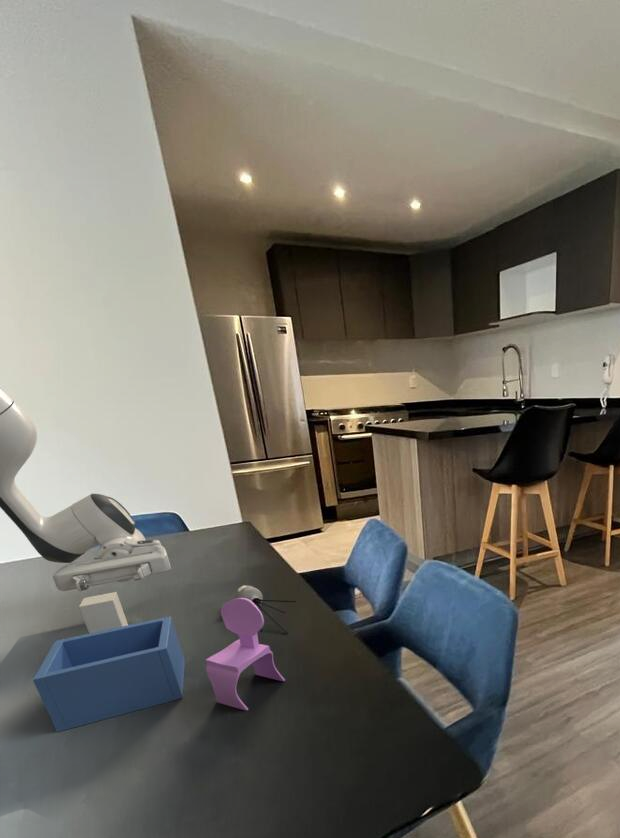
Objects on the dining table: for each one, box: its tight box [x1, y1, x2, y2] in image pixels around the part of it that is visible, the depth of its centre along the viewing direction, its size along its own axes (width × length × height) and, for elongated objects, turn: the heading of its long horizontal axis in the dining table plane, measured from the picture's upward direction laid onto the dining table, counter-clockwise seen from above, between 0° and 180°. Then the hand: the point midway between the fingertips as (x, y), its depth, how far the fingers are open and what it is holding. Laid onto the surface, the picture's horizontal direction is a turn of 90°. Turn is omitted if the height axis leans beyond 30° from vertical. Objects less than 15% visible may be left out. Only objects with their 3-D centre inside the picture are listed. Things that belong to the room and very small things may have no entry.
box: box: [32, 615, 186, 733], centre depth 77 cm, size 16×12×9 cm
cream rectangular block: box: [78, 591, 129, 634], centre depth 88 cm, size 5×4×12 cm
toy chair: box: [205, 598, 286, 712], centre depth 74 cm, size 8×9×15 cm
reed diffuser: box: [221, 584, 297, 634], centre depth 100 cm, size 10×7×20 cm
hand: (109, 581), depth 96 cm, fingers open, 8 cm apart
